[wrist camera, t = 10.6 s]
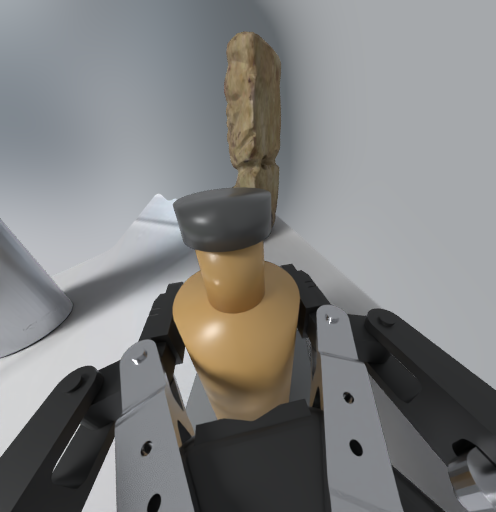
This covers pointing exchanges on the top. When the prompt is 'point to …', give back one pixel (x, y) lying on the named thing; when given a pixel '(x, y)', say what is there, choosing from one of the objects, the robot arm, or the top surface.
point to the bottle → (236, 303)
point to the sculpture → (254, 113)
